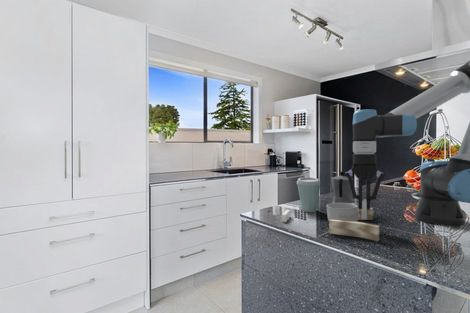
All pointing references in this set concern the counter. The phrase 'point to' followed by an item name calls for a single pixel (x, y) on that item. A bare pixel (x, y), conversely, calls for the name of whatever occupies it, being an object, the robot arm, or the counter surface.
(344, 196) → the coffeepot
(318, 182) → the disposable coffee cup
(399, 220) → the counter surface
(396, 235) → the counter surface
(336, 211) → the teacup
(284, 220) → the bumper
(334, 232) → the channel
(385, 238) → the counter surface
